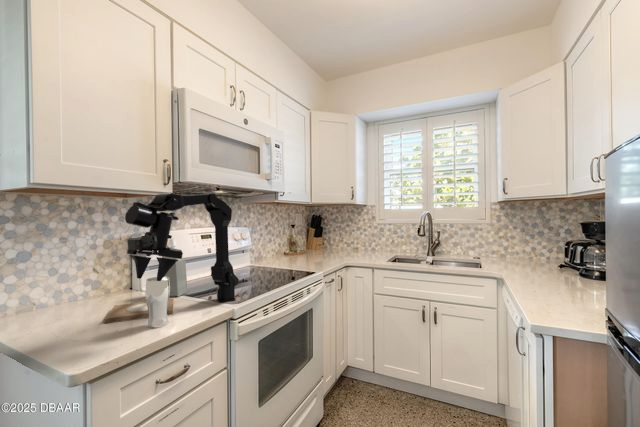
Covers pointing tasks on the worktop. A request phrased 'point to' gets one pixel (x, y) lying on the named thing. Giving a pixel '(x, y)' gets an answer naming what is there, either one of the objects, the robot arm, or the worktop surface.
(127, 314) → the walnut board
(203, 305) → the worktop surface
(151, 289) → the beer glass
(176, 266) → the skincare box
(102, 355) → the worktop surface
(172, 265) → the robot arm
